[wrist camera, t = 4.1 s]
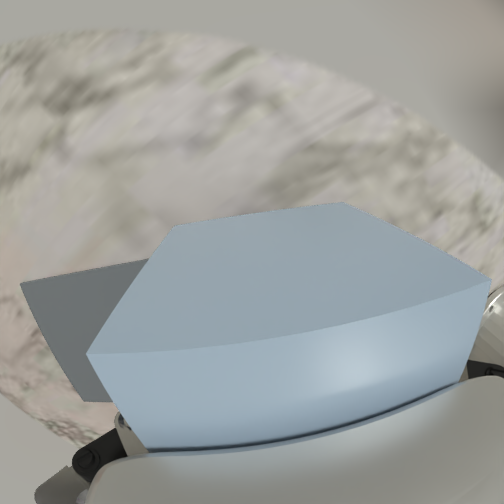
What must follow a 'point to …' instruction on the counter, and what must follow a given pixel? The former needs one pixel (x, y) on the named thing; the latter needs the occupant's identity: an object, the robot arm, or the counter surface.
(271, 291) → the pale blue faceted block
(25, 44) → the counter surface
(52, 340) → the tape square
